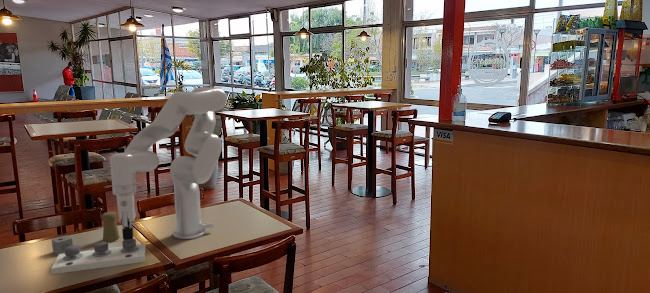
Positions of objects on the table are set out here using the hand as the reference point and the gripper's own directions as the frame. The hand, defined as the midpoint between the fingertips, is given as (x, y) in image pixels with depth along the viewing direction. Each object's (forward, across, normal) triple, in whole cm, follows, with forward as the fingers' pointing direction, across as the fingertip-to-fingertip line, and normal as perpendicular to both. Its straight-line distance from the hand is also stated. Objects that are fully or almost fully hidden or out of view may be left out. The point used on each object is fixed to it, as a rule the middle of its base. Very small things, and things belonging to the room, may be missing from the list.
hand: (128, 238), depth 159 cm
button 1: (+3, 0, +18) cm, 18 cm away
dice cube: (+7, +12, +23) cm, 27 cm away
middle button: (+3, 0, +9) cm, 9 cm away
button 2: (+3, 0, 0) cm, 3 cm away
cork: (+6, +19, +8) cm, 21 cm away
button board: (+6, -1, +9) cm, 11 cm away
